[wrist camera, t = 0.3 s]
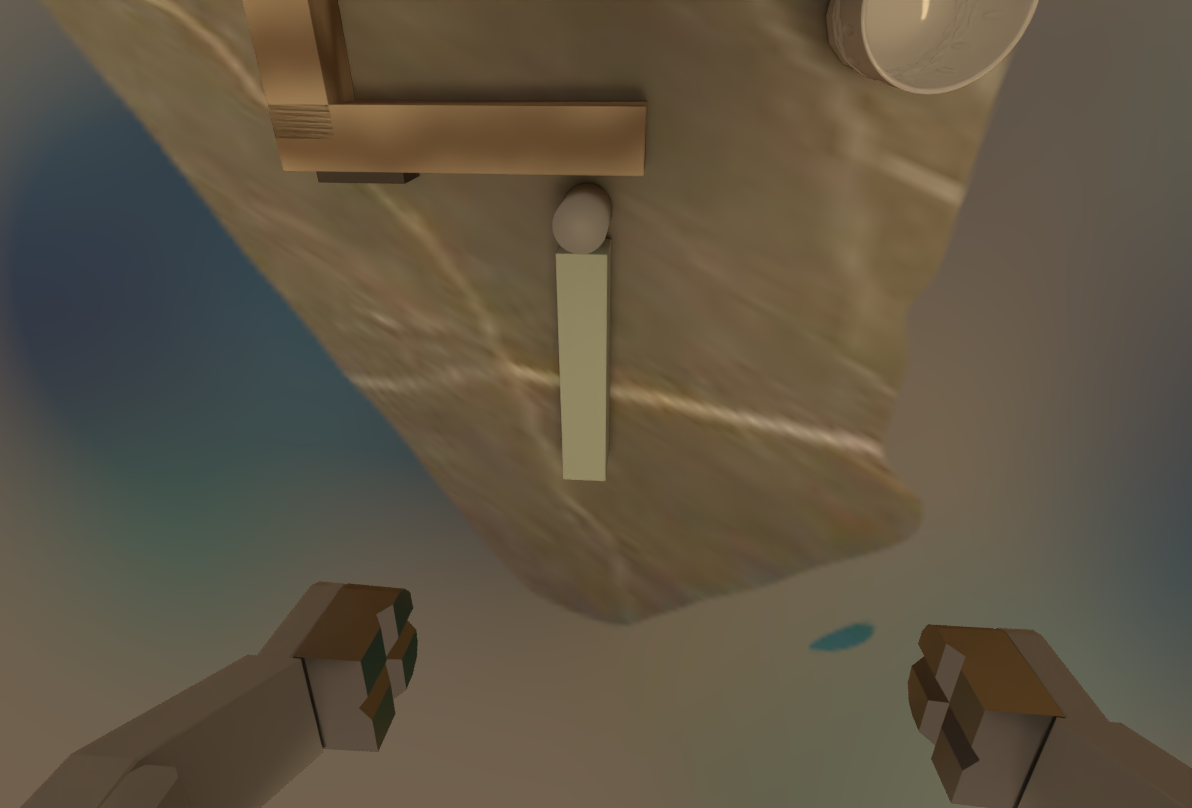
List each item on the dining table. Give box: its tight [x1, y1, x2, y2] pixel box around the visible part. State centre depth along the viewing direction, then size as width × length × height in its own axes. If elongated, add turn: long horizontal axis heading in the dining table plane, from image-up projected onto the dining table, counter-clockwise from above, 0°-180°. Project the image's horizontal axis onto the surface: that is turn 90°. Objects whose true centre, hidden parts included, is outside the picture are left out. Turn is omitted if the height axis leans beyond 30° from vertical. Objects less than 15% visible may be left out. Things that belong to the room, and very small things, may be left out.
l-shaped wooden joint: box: [242, 0, 647, 184], centre depth 39 cm, size 13×24×4 cm, turn 90°
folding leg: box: [552, 184, 612, 481], centre depth 47 cm, size 23×4×5 cm, turn 0°
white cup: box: [826, 0, 1039, 94], centre depth 33 cm, size 8×8×10 cm
